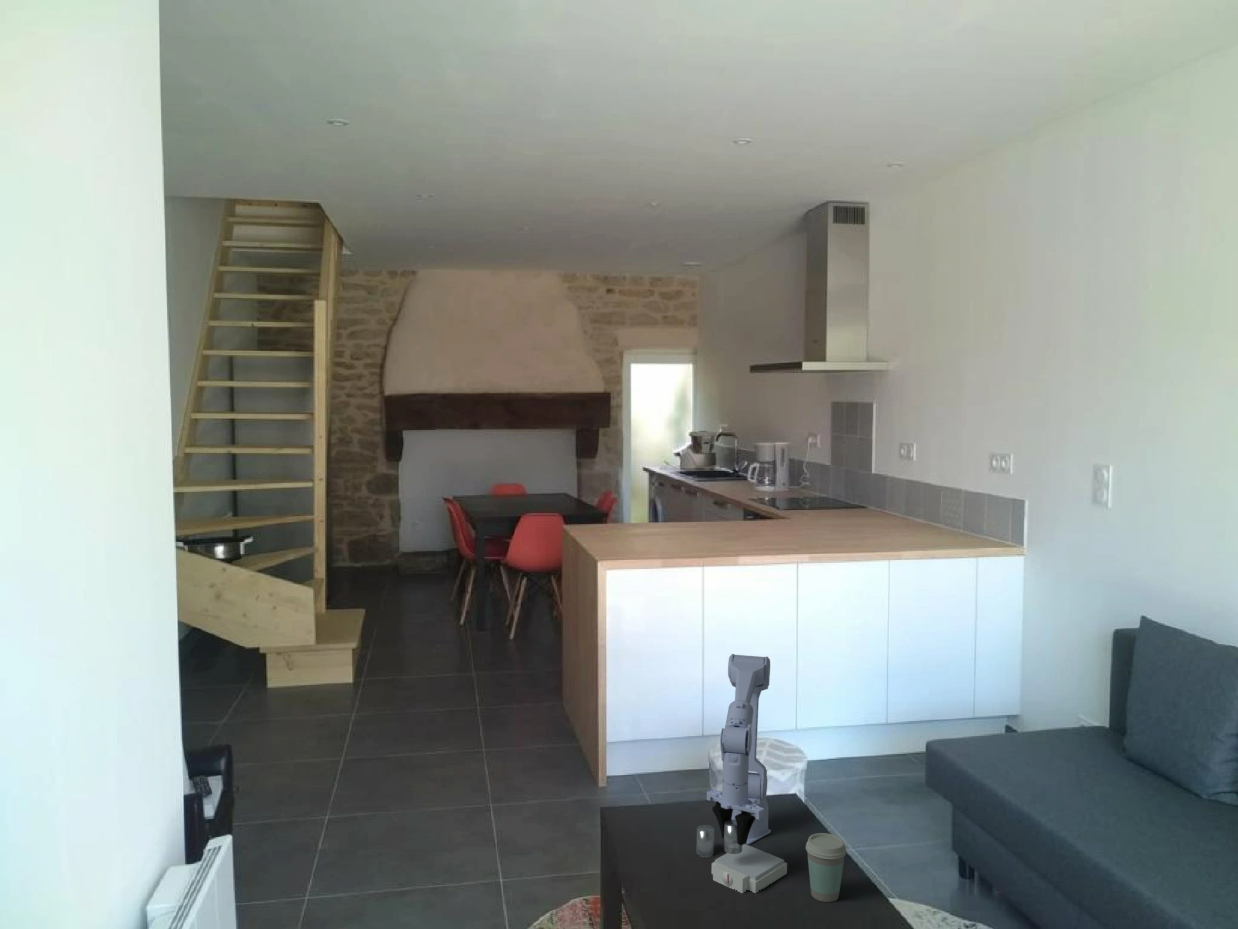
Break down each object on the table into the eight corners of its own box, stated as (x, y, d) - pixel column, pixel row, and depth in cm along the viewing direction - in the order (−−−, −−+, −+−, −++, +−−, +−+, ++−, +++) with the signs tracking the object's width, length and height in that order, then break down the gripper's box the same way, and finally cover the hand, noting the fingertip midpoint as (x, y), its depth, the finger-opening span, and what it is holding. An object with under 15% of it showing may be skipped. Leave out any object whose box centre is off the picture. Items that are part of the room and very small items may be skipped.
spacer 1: (703, 848, 221) (704, 823, 221) (717, 853, 218) (717, 828, 218) (693, 853, 218) (693, 828, 218) (706, 859, 216) (706, 834, 215)
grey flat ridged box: (743, 855, 218) (743, 842, 217) (786, 873, 209) (787, 859, 209) (704, 877, 207) (705, 863, 207) (748, 897, 199) (749, 883, 199)
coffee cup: (847, 889, 203) (848, 835, 202) (843, 909, 195) (844, 853, 194) (807, 882, 206) (808, 829, 205) (801, 901, 198) (803, 846, 197)
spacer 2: (732, 843, 210) (732, 818, 209) (745, 850, 207) (746, 824, 206) (720, 849, 207) (720, 823, 207) (733, 856, 204) (734, 829, 204)
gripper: (698, 776, 208) (697, 835, 209) (751, 795, 198) (749, 857, 199) (718, 767, 213) (717, 825, 214) (770, 786, 203) (769, 846, 204)
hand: (734, 840), depth 207 cm, fingers closed on spacer 2, 4 cm apart
